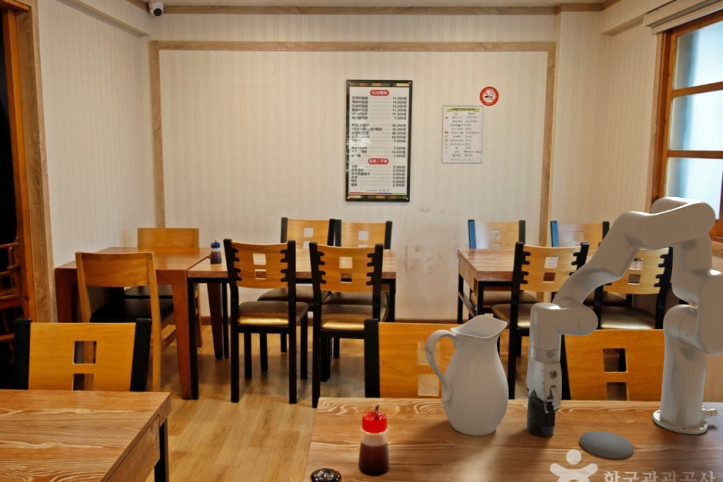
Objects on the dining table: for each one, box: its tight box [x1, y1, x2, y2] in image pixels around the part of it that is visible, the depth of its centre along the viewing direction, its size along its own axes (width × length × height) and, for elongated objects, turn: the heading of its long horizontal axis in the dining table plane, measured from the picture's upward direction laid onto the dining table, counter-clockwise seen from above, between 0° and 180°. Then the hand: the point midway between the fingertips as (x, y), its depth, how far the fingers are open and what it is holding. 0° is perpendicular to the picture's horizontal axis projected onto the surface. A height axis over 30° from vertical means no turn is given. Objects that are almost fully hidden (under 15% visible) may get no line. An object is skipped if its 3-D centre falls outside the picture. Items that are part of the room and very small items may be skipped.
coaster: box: [579, 430, 634, 460], centre depth 141 cm, size 12×12×1 cm
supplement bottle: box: [526, 388, 555, 438], centre depth 148 cm, size 7×7×12 cm
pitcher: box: [424, 314, 509, 437], centre depth 148 cm, size 24×17×28 cm
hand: (540, 419), depth 148 cm, fingers closed on supplement bottle, 6 cm apart
